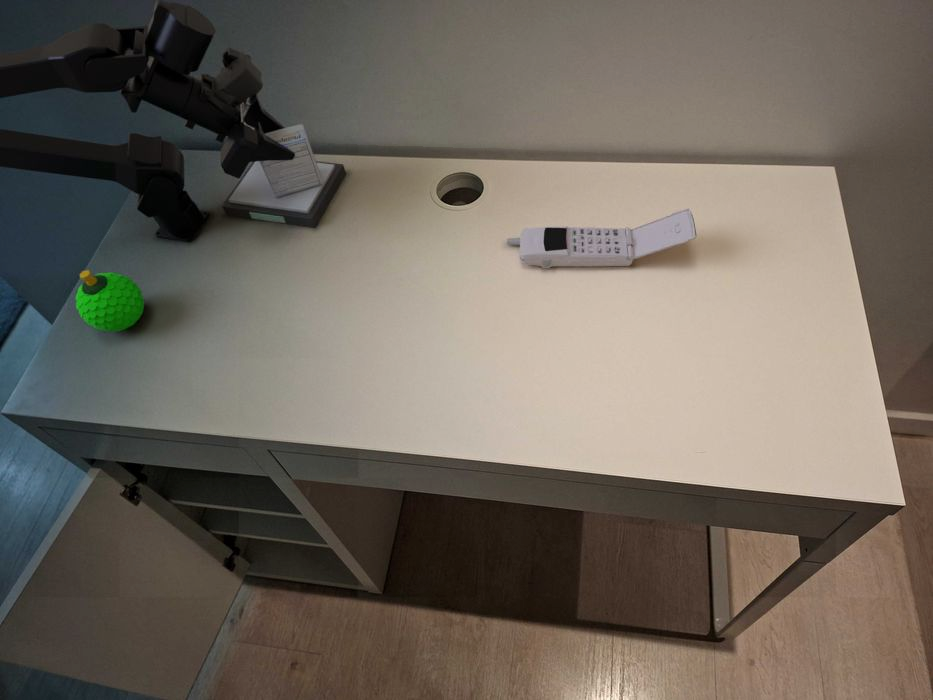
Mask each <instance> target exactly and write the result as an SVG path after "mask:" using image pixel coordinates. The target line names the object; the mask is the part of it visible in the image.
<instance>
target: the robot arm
mask: <svg viewBox="0 0 933 700" xmlns="http://www.w3.org/2000/svg"><path fill="white" fill-rule="evenodd" d="M216 32H217V29H216V27H215V25H214V24H213V23H212V21H211V20H210V19H209V18H208V17H207V16H206V15H204V14H203V13H201V11H199V10H198V9H196V8H195V7H193V6H191V5H189V4H186V5H185V4H182V3H181V2H175V1H171V2H168V1H166V0H156V2H155V4H154V7H153V15H152V17H151V19H150V22H149V24H148V25H141V26H125V27H124V26H123V27H112V26H111V25H109V24H106V23H102V22H101V23H100V22H99V23H97V22H96V23H90V24H87V25H85V26H82V27H80V28H77V29H74V30H72V31H69V32H67V33H65V34H64V35H63V36H61V37H59V38H58V39H56V40H54V41H53V42H50V43H47V44H45V45H41V46H36V47H29V48H25V49H19V50H13V51H6V52H0V99H3V98H4V99H5V98H9V97H16V96H21V95H27V94H31V93H32V94H33V93H39V92H43V91H51V90H55V89H70V90H74V91H78V92H81V93H85V94H88V93H90V94H91V93H93V94H94V93H115V92H116V93H117V92H119V91H120V95H121V97H123V99H124V100H125V102H126V105H127V106H128V108H129V111H130V112H131V113H133V114H136V113H137V112H138V110H139V107H140V105H141V103H142V101H143V102H145V103H147V104H150V105H152V106H154V107H156V108H159V109H161V110H163V111H166V112H168V113H170V114H172V115H174V116H176V117H178V118H181V119H183V120H184V127H186V128H188V129H190V130H192V131H193V129H194V128H195V126H198V127H200V128H202V129H205V130H207V131H210V132H211V133H214V140H215V141H216V142H219V143H222V144H223V143H224V144H223V145H222V147H221V148H220V166H221V169H222V171H223V172H224V174H226V175H228V176H230V177H233V178H235V179H241V178H242V176H243V175H244V173H245V171H246V169H247V167H248V166H249V164H250V163H253V162H256V161H268V160H269V161H272V160H293V158H294V157H295V153H294V152H292V151H291V150H289V149H288V148H286V147H285V146H283V145H281V144H280V143H278V142H276V141H275V140H273V139H271V138H270V137H268V136H266V135H265V133H269V132H272V131H276V130H280V129H284V128H286V127H284V125H283V124H281V123H280V122H279V121H278V120H277V119H276V117H274V116H272V115H271V113H270V112H268V111H267V110H266V109H265V107H263V105H262V103H261V100H260V97H259V94H258V93H260V91H261V90H262V89H263V86H264V83H263V81H262V76H263V74H262V72H261V71H260V70H259V68H258V67H257V66H256V65H255V64H254V63H253V62H252V57H251V55H249V54H245V52H243V51H239V50H236V49H234V48H231V47H227V48H226V49H225V50H224V51H223V52H222V53H221V61H222V65H223V67H221V68H220V72H219V73H218V74H217V75H216V76H211V75H210V74H208V73H204V74H203V73H202V72H201V73H200V76H199V77H197V76H194V75H192V74H191V73H195V72H197V71H198V70H200V69H199V68H200V66H201V64H202V62H203V60H204V58H205V56H206V54H207V52H208V49H209V48H210V46H211V43H212V41H213V40H214V37H215V34H216ZM130 80H131V81H130ZM129 81H130V82H129ZM226 137H227V138H226ZM225 139H226V140H225ZM224 141H225V142H224ZM0 168H5V169H13V170H22V171H29V172H37V173H46V174H53V175H62V176H70V177H78V178H85V179H93V180H94V179H95V180H100V181H108V182H115V183H117V184H119V185H121V186H123V187H124V188H126V189H127V190H129V191H131V192H132V193H135V194H137V208H136V209H137V211H138V212H139V213H141V214H143V215H144V216H146V217H147V218H153V219H154V220H155V222H156V224H157V225H158V227H159V228H158V229H157V231H156V232H155V237H156V238H159V239H160V238H161V239H168V240H173V241H179V242H186V243H189V242H192V241H193V239H194V238H195V236H196V235H197V233H198V232H199V231H200V230H201V228H202V227H203V226H204V224H205V223H206V222H207V220H208V218H209V217H210V213H209V212H208V211H205V210H200V209H199V207H198V206H197V204H196V202H195V201H194V200H192V197H191V196H190V195H189V192H187V190H184V188H185V157H184V154H183V153H182V151H181V150H180V149H179V148H178V147H177V146H176V144H174V143H172V142H171V141H167V140H163V138H162V135H159V136H158V135H157V136H148V135H144V134H140V133H135V132H130V133H129V135H128V142H124V143H120V144H117V145H111V144H104V143H98V142H91V141H85V140H78V139H73V138H72V139H71V138H64V137H58V136H50V135H44V134H36V133H30V132H25V131H17V130H11V129H3V128H0Z"/></svg>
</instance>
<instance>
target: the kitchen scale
mask: <svg viewBox="0 0 933 700" xmlns="http://www.w3.org/2000/svg"><path fill="white" fill-rule="evenodd" d="M316 163H317V166H318V169H319V172H320V175H321V179H322V182H323V184H322V185H317V186H314V187H310V188H307V189H303V190H300V191H296V192H293V193H289V194H286V195H282V196H279V197H274V195H273V192H272V190H271V188H270V185H269V183H268V181H267V179H266V177H265V174H264V172H263V170H262V168H261V165H260V163H259V161H256V162H251V164H250V165H249V167H248V168H247V170H245V171H244V173H243V174H242V176H241V177H240V179H239V181H238V182H237V184H236V185H235V186H234V188H233V189H232V191H231V192H230V194H229V195H228V196H227V198H226V199H225V201H224V202H223V203H222V205H221V208H222V210H223V212H224V213H225V215H226V216H229V217H234V218H242V219H249V220H257V221H262V222H270V223H276V224H277V223H278V224H283V225H290V226H298V227H304V228H305V227H306V228H312V229H316V228H317V226H318V224H319V223H320V221H321V219H322V217H323V215H324V214H325V212H326V210H327V209H328V207H329V205H330V203H331V201H332V200H333V198H334V196H335V194H336V193H337V191H338V189H339V187H340V186H341V184H342V182H343V181H344V179H345V177H346V176H347V171H346V169H345V165H344V163H335V162H328V161H319V160H316Z"/></svg>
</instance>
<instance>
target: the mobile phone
mask: <svg viewBox="0 0 933 700" xmlns="http://www.w3.org/2000/svg"><path fill="white" fill-rule="evenodd" d="M695 239H697V229H696V224H695V220H694V216H693V214H692V211H691V210H690V208H684V209H679V210H677V211H675V212H672V213H671V214H669V215H665V216H663V217H660V218H658V219H655V220H653V221H650V222H648V223H645V224H642V225H640V226H636V227H635V228H632V229H631V227H626V228H625V227H623V228H622V227H590V226H589V227H588V226H587V227H586V226H585V227H583V226H582V227H580V226H577V227H576V226H574V227H570V226H540V227H539V226H538V227H527V228H525V227H524V228H523V229H522V230H521V231H520V236H519V237H509V238H506V244H507V245H512V246H513V245H516V246H519V260H520V262H521V264H523V265H527V266H539V267H541V268H543V269H550V268H551V267H628V266H631V265H632V264H633V261H634V260H637V259H640V258H643V257H646V256H649V255H652V254H655V253H658V252H661V251H664V250H668V249H670V248H673V247H677V246H679V245H682V244H685V243H687V242H690V241H692V240H695Z"/></svg>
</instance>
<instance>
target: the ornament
mask: <svg viewBox="0 0 933 700" xmlns="http://www.w3.org/2000/svg"><path fill="white" fill-rule="evenodd" d="M79 278H80V279H81V280H83V283H81V285H80V286H79V287H78V289H77V293H76V295H75V301H76V302H75V308H76V310H77V311H78V313H79V316H80V318H81V319H83V321H85V323H87V325H88V326H91V327H93V328H95V329H97V330H100V331H103V332H112V333H113V332H119V331H124V330H127V329H128V328H130V327H132V326H133V325H134V324H136V323H137V322H138V320H140V318H141V316H142V314H143V313H144V307H145V298H144V296H143V295H142V293H143V291H142V290H141V288H140V287H139V286H138V284H137V283H136V282H134V280H132V279H131V278H130V277H128V276H125V275H124V274H121V273H120V274H119V273H115V272H104V273H103V272H99V273H96V274H94V275H93V273H92V272H91V271H90V270H89V269H87V270H82V271H81V272H80V273H79Z"/></svg>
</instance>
